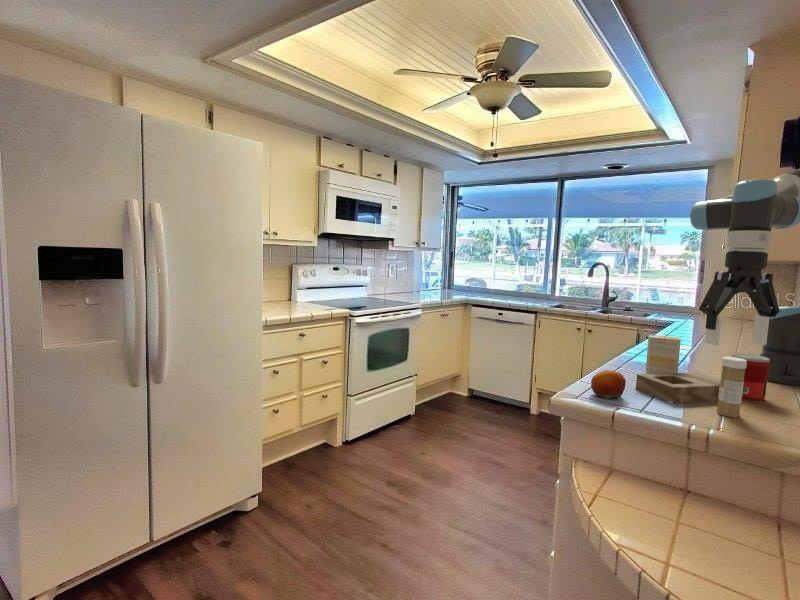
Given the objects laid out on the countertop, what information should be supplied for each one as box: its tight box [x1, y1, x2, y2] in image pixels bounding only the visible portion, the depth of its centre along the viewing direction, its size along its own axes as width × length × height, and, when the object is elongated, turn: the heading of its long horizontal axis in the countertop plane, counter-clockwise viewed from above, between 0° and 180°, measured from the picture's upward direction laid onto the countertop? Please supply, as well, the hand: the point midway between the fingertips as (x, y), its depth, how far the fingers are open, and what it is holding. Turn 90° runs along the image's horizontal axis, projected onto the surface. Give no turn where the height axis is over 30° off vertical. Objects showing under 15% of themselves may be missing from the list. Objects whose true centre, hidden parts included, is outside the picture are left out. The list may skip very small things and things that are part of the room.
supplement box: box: [644, 334, 682, 374], centre depth 132 cm, size 8×5×13 cm, turn 56°
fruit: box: [590, 369, 627, 401], centre depth 114 cm, size 8×8×8 cm
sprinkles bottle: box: [716, 356, 747, 418], centre depth 103 cm, size 5×5×13 cm
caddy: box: [635, 372, 721, 403], centre depth 118 cm, size 20×12×4 cm, turn 103°
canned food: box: [731, 352, 770, 402], centre depth 118 cm, size 8×8×11 cm
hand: (735, 344), depth 102 cm, fingers open, 13 cm apart
